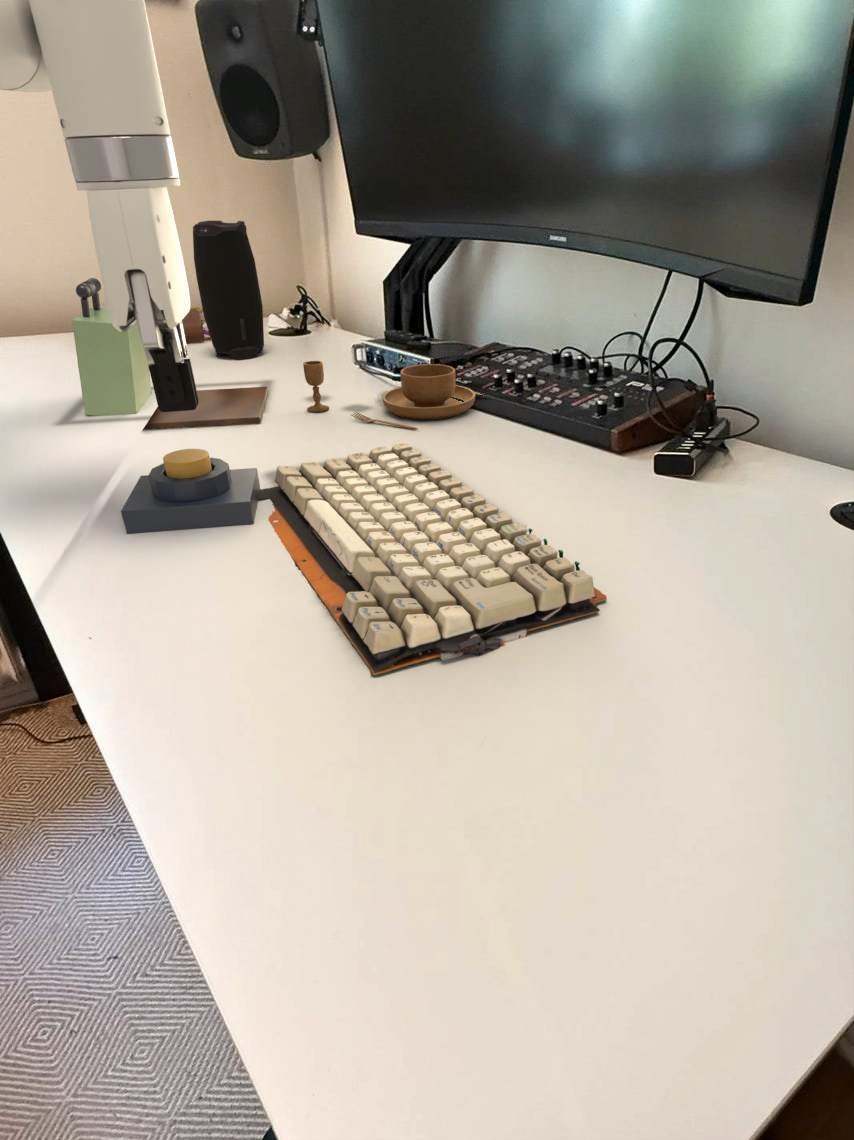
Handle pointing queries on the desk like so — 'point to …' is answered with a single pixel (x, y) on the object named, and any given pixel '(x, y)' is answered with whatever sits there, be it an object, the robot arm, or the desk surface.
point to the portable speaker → (229, 288)
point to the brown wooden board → (215, 409)
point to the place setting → (409, 393)
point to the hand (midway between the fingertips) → (179, 408)
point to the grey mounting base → (192, 500)
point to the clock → (108, 359)
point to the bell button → (187, 463)
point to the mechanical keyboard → (419, 559)
